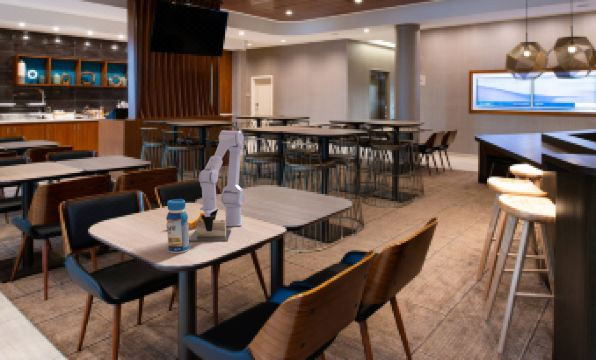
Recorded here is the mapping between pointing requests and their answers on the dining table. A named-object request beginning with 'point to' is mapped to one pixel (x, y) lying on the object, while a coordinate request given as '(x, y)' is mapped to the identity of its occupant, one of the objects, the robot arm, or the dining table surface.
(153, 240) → the dining table surface
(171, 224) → the beverage bottle
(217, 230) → the spacer bar
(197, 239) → the bolt plate
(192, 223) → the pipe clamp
